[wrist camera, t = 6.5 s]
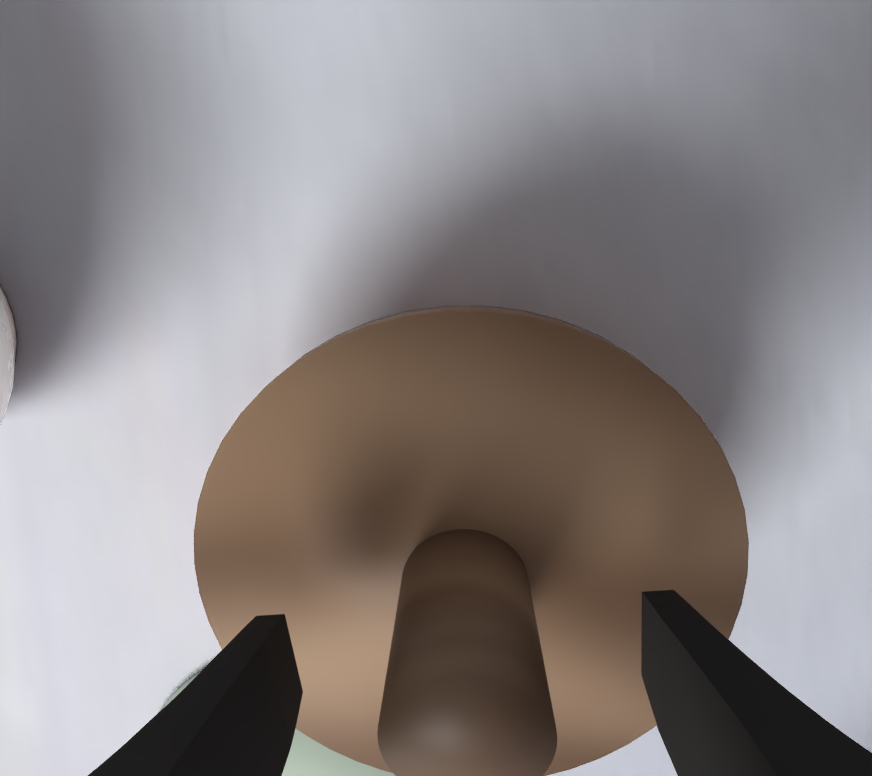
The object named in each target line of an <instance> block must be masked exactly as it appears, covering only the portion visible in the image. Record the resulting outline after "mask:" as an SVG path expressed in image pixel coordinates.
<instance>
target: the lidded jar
mask: <svg viewBox="0 0 872 776" xmlns="http://www.w3.org/2000/svg"><path fill="white" fill-rule="evenodd" d="M16 348H17V339H16V328H15V323H14V319H13V315H12V311H11V309H10V306H9V303H8V301H7V298H6V296H5V294H4V292H3V291H2V289H1V287H0V425H1V423H2V420H3V418H4V415H5V413H6V410H7V407H8V404H9V400H10V397H11V393H12V390H13V380H14V369H15V358H16Z"/></svg>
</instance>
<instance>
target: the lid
mask: <svg viewBox="0 0 872 776" xmlns="http://www.w3.org/2000/svg"><path fill="white" fill-rule="evenodd" d="M748 545H749V542H748V533H747V525H746V517H745V510H744V506H743V503H742V499H741V496H740V492H739V489H738V486H737V482H736V479H735V476H734V474H733V472H732V470H731V468H730V466H729V464H728V461H727V459H726V457H725V455H724V453H723V451H722V449H721V447H720V445H719V444H718V442H717V441H716V439H715V438H714V436H713V435H712V433H711V432H710V430H709V429H708V428H707V426H706V425H705V423H704V422H703V420H702V419H701V417H700V416H699V415H698V414H697V413H696V412H695V411H694V410H693V409H692V407H691V406H690V405H689V404H688V403H687V402H686V401H685V400H684V399H683V398H682V397H681V396H680V395H679V394H678V392H677V391H676V390H675V389H674V388H672V387H671V386H670V385H669V384H667V383H666V382H665V381H664V380H663V379H661V378H660V377H659V376H658V375H656V374H655V373H654V372H653V371H651V370H650V369H649V368H648V367H646V366H645V365H644V364H643V363H641V362H640V361H639V360H638V359H636V358H635V357H634V356H632V355H631V354H629V353H628V352H626V351H624V350H622V349H621V348H619V347H617V346H616V345H614V344H612V343H611V342H609V341H607V340H605V339H604V338H602V337H600V336H598V335H596V334H594V333H591V332H589V331H586V330H584V329H582V328H579V327H577V326H574V325H572V324H570V323H567V322H565V321H562V320H558V319H554V318H550V317H547V316H543V315H539V314H535V313H531V312H528V311H522V310H514V309H507V308H499V307H491V306H443V307H435V308H428V309H420V310H413V311H407V312H403V313H399V314H396V315H392V316H388V317H385V318H381V319H377V320H374V321H370V322H368V323H365V324H363V325H361V326H358V327H356V328H354V329H351V330H349V331H346V332H344V333H342V334H339V335H337V336H335V337H333V338H332V339H330V340H328V341H327V342H325V343H323V344H322V345H320V346H318V347H316V348H315V349H313V350H311V351H310V352H308V353H306V354H305V355H303V356H302V357H301V358H300V359H298V360H297V361H296V362H295V363H294V364H292V365H291V366H290V367H289V368H287V369H286V370H285V371H284V372H282V373H281V374H280V375H279V376H277V377H276V378H275V379H274V380H273V381H272V382H271V383H269V384H268V385H267V386H266V387H265V388H264V389H263V390H262V391H261V392H260V393H259V394H258V396H257V397H256V398H255V399H254V400H253V401H252V402H251V403H250V404H249V405H248V406H247V407H246V408H245V410H244V411H243V412H242V413H241V414H240V415H239V417H238V418H237V420H236V421H235V423H234V424H233V426H232V427H231V429H230V430H229V432H228V433H227V435H226V436H225V437H224V439H223V440H222V442H221V444H220V446H219V448H218V450H217V452H216V454H215V457H214V459H213V461H212V463H211V465H210V467H209V469H208V471H207V474H206V478H205V481H204V484H203V488H202V491H201V494H200V498H199V501H198V507H197V514H196V522H195V529H194V562H195V569H196V575H197V581H198V587H199V593H200V596H201V599H202V602H203V605H204V609H205V612H206V615H207V618H208V621H209V623H210V625H211V627H212V629H213V631H214V634H215V636H216V638H217V640H218V642H219V644H220V646H221V648H222V650H223V649H224V648H225V647H226V646H227V645H228V644H229V642H230V641H231V640H232V639H233V638H234V637H235V636H236V635H237V634H238V633H239V632H240V631H241V630H242V629H243V628H244V627H245V626H246V625H247V624H248V623H249V622H250V621H251V620H252V619H253V618H254V617H255V616H260V615H276V614H285V617H286V622H287V626H288V630H289V634H290V639H291V643H292V647H293V651H294V656H295V660H296V664H297V668H298V673H299V677H300V681H301V685H302V690H303V694H302V699H301V704H300V709H299V714H298V719H297V724H296V729H297V730H299V731H300V732H302V733H303V734H304V735H306V736H308V737H310V738H311V739H313V740H315V741H316V742H318V743H320V744H322V745H323V746H325V747H327V748H328V749H330V750H333V751H335V752H337V753H339V754H341V755H344V756H346V757H348V758H350V759H352V760H355V761H357V762H360V763H363V764H366V765H369V766H372V767H375V768H377V769H380V770H383V771H386V772H391V773H393V774H394V775H395V776H546V775H550V774H554V773H558V772H562V771H565V770H569V769H572V768H575V767H578V766H580V765H583V764H586V763H588V762H591V761H594V760H597V759H599V758H601V757H603V756H605V755H607V754H609V753H611V752H613V751H615V750H617V749H619V748H621V747H623V746H625V745H627V744H629V743H631V742H632V741H634V740H635V739H637V738H638V737H640V736H641V735H643V734H645V733H646V732H648V731H649V730H651V729H652V728H654V727H655V726H656V725H657V724H656V720H655V717H654V714H653V711H652V708H651V705H650V702H649V698H648V695H647V692H646V688H645V685H644V682H643V678H642V675H641V634H642V592H645V591H661V590H675V591H676V592H677V593H678V594H679V595H680V596H681V597H682V598H684V599H685V600H686V601H687V602H688V603H689V604H690V605H691V606H692V607H693V608H694V609H695V610H697V611H698V612H699V613H700V614H701V615H702V616H703V617H704V618H705V619H706V620H707V621H708V622H710V623H711V624H712V625H713V626H714V627H715V628H716V629H717V630H718V631H719V632H720V633H722V634H723V635H724V636H725V637H726V638H727V639H728V638H729V637H730V635H731V632H732V629H733V627H734V624H735V621H736V618H737V616H738V613H739V610H740V607H741V604H742V599H743V594H744V589H745V584H746V579H747V572H748Z"/></svg>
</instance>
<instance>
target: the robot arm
mask: <svg viewBox="0 0 872 776" xmlns="http://www.w3.org/2000/svg"><path fill="white" fill-rule="evenodd" d="M641 675H642V678H643V682H644V685H645V688H646V692H647V695H648V698H649V702H650V705H651V708H652V711H653V714H654V717H655V720H656V724H657V727H658V730H659V732H660V735H661V737H662V739H663V742H664V744H665V747H666V749H667V751H668V754H669V756H670V758H671V761H672V763H673V765H674V768H675V770H676V772H677V775H678V776H872V753H871V752H869V751H868V750H866V749H865V748H864V747H862V746H861V745H859V744H858V743H856V742H855V741H854V740H852V739H851V738H849V737H848V736H846V735H845V734H844V733H842V732H841V731H840V730H838V729H837V728H836V727H834V726H833V725H831V724H830V723H829V722H827V721H826V720H825V719H823V718H822V717H821V716H820V715H818V714H817V713H816V712H814V711H813V710H812V709H811V708H809V707H808V706H807V705H805V704H804V703H803V702H802V701H800V700H799V699H798V698H796V697H795V696H794V695H793V694H791V693H790V692H789V691H788V690H787V689H785V688H784V687H783V686H782V685H780V684H779V683H778V682H777V681H776V680H774V679H773V678H772V677H771V676H770V675H768V674H767V673H766V672H765V671H764V670H763V669H761V668H760V667H759V666H758V665H757V664H756V663H754V662H753V661H752V660H751V659H750V658H749V657H747V656H746V655H745V654H744V653H743V652H742V651H741V650H739V649H738V648H737V647H736V646H735V645H734V644H733V643H732V642H730V641H729V640H728V639H727V638H726V637H725V636H724V635H723V634H722V633H720V632H719V631H718V630H717V629H716V628H715V627H714V626H713V625H712V624H711V623H710V622H708V621H707V620H706V619H705V618H704V617H703V616H702V615H701V614H700V613H699V612H698V611H697V610H695V609H694V608H693V607H692V606H691V605H690V604H689V603H688V602H687V601H686V600H685V599H684V598H682V597H681V596H680V595H679V594H678V593H677V592H676V591H675V590H661V591H645V592H642V634H641ZM302 694H303V690H302V685H301V681H300V677H299V673H298V668H297V664H296V660H295V656H294V651H293V647H292V643H291V639H290V634H289V630H288V626H287V622H286V617H285V614H276V615H260V616H255V617H254V618H253V619H252V620H251V621H250V622H249V623H248V624H247V625H246V626H245V627H244V628H243V629H242V630H241V631H240V632H239V633H238V634H237V635H236V636H235V637H234V638H233V639H232V640H231V641H230V642H229V644H228V645H227V646H226V647H225V648H224V649H223V650H222V651H221V652H220V653H219V654H218V655H217V656H216V657H215V658H214V659H213V660H212V661H211V662H210V663H209V664H208V665H207V666H206V667H205V668H204V669H203V670H202V671H201V672H200V673H199V674H198V675H197V676H196V677H195V678H194V679H193V680H192V681H191V682H190V683H189V684H188V685H187V686H186V687H185V688H184V689H183V690H182V691H181V692H180V693H179V694H178V695H177V696H176V697H175V698H174V699H173V700H172V701H171V702H170V703H169V704H168V705H167V706H165V707H164V708H163V709H162V710H161V711H160V712H159V713H158V714H157V715H156V716H155V717H154V718H153V719H151V720H150V721H149V722H148V723H147V724H146V725H145V726H144V727H143V728H142V729H141V730H140V731H139V732H138V733H136V734H135V735H134V736H133V737H132V738H131V739H130V740H129V741H128V742H127V743H126V744H124V745H123V746H122V747H121V748H120V749H119V750H118V751H117V752H115V753H114V754H113V755H112V756H111V757H110V758H108V759H107V760H106V761H105V762H104V763H103V764H101V765H100V766H99V767H98V768H97V769H95V770H94V771H93V772H92V773H90V774H89V775H88V776H282V773H283V770H284V767H285V764H286V761H287V758H288V755H289V752H290V749H291V745H292V741H293V737H294V732H295V728H296V724H297V719H298V714H299V709H300V704H301V699H302Z"/></svg>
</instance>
